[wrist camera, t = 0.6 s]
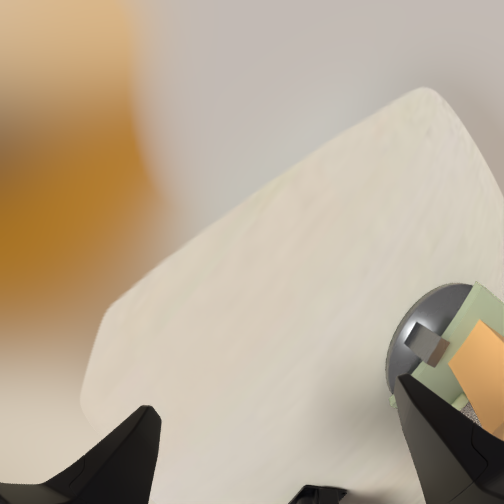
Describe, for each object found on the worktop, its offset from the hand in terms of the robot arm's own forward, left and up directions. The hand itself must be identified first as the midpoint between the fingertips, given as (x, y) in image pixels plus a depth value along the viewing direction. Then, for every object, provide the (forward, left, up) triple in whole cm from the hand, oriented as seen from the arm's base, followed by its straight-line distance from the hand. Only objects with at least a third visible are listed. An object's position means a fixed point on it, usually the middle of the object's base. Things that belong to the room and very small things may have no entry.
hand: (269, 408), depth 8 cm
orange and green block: (+1, -19, -13) cm, 23 cm away
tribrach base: (+1, -19, -17) cm, 26 cm away
